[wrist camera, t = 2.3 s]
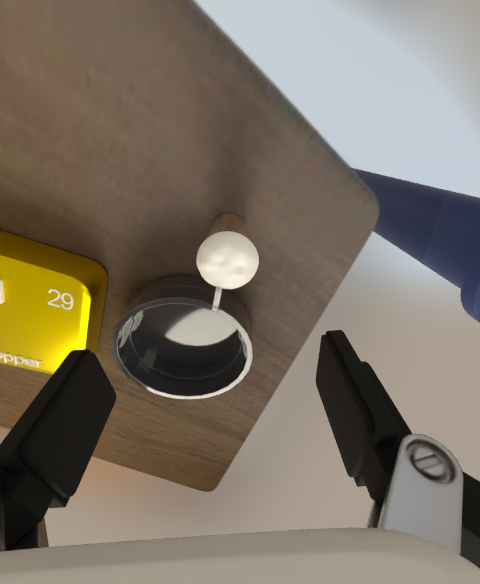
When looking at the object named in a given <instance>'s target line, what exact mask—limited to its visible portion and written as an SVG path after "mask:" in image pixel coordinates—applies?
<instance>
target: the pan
mask: <svg viewBox="0 0 480 584" xmlns="http://www.w3.org/2000/svg"><path fill="white" fill-rule="evenodd" d="M215 291H216V286H213V285H211V284H209V283H208V282H207V281H205V280H204V278H200V277H193V276H172V277H166V278H163V279H160V280H157V281H154V282H151V283H150V284H148V285H147V286H145V287H144V288H142V289H141V290H140V291H138V293H137V294H136V295H135V297H134V298H133V299H132V300H131V302H130V303H129V305H128V306H127V308H126V310H125V311H124V313H123V314H122V316H121V317H120V319H119V320H118V322H117V324H116V325H115V327H114V331H113V334H112V337H111V348H112V355H113V357H114V359H115V361H116V363H117V365H118V367H119V368H120V369H121V370H122V372H123V373H124V374H125V375H126V376H127V377H128V378H129V379H130V380H132V381H133V382H134V383H136V384H137V385H139V386H140V387H142V388H144V389H146V390H148V391H151V392H153V393H155V394H158V395H162V396H166V397H170V398H177V399H202V398H207V397H211V396H216V395H219V394H221V393H223V392H225V391H228V390H230V389H231V388H233V387H234V386H235V385H236V384H238V383H239V382H240V381H241V380H242V379H243V378H244V377H245V375H246V374H247V372H248V371H249V369H250V366H251V363H252V360H253V346H252V335H251V324H250V318H249V315H248V313H247V311H246V308H245V306H244V305H243V304H242V303H241V301H240V300H239V299H238V298H237V296H236V295H234V294H233V293H232V292H230V291H229V290H228V289H223V288H222V292H221V298H220V303H219V308H218V310H213V309H212V306H213V301H214V296H215Z"/></svg>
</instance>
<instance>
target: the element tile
mask: <svg viewBox="0 0 480 584" xmlns="http://www.w3.org/2000/svg"><path fill="white" fill-rule="evenodd" d="M107 282H108V279H107V275H106V272H105V270H104V269H103V267H102V266H101V265H99V264H98V263H96V262H95V261H93V260H91V259H88V258H85V257H82V256H79V255H76V254H73V253H70V252H67V251H63V250H60V249H57V248H54V247H51V246H48V245H45V244H42V243H39V242H36V241H32V240H29V239H26V238H23V237H20V236H17V235H14V234H11V233H8V232H5V231H1V230H0V363H2V364H7V365H11V366H16V367H20V368H25V369H29V370H34V371H38V372H43V373H47V374H52V375H53V374H54V373H55V371H56V370H57V369H58V367H59V366H60V365H61V363H62V362H63V361H64V359H65V358H66V357H67V355H68V354H69V353H70V352H71V351H73V350H82V349H89V350H90V351H91V352H93V353H95V352H96V350H97V348H98V342H99V335H100V328H101V322H102V315H103V308H104V302H105V295H106V288H107Z"/></svg>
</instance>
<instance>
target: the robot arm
mask: <svg viewBox="0 0 480 584" xmlns="http://www.w3.org/2000/svg"><path fill="white" fill-rule="evenodd" d="M316 385H317V388H318V391H319V394H320V397H321V400H322V403H323V406H324V408H325V411H326V414H327V417H328V419H329V423H330V425H331V428H332V431H333V434H334V437H335V440H336V443H337V446H338V448H339V451H340V454H341V457H342V459H343V463H344V465H345V468H346V471H347V473H348V475H349V476H350V477H354V479H355V482H356V485H357V486H358V487H360V486H367V489H368V492H369V494H370V497H371V498H372V499H373V500H374V501H373V505H372V508H371V512H370V516H369V519H368V523H367V527H366V528H332V529H307V530H289V531H274V532H257V533H242V534H226V535H212V536H196V537H181V538H167V539H153V540H138V541H124V542H110V543H97V544H83V545H70V546H57V547H49V545H48V538H47V532H46V526H45V519H44V516H45V513H46V512H47V510H48V508H59V507H66V505H67V503H68V500H69V498H70V497H71V496H73V495H74V493H75V492H76V490H77V488H78V486H79V483H80V481H81V479H82V476H83V474H84V472H85V470H86V467H87V465H88V463H89V461H90V458H91V456H92V454H93V451H94V449H95V447H96V445H97V442H98V440H99V438H100V435H101V433H102V431H103V429H104V426H105V424H106V422H107V419H108V417H109V415H110V413H111V410H112V408H113V406H114V403H115V401H116V393H115V391H114V389H113V387H112V385H111V383H110V382H109V380H108V378H107V376H106V374H105V372H104V370H103V368H102V366H101V365H100V363H99V361H98V359H97V357H96V355H95V354H94V353H93V352H91V351H90V350H89V349H82V350H73V351H71V352H70V353H69V354H68V355H67V357H66V358H65V359H64V361H63V362H62V363H61V365H60V366H59V367H58V369H57V370H56V371H55V373H54V374H53V375H52V376H51V378H50V379H49V380H48V382H47V383H46V384H45V386H44V387H43V388H42V390H41V391H40V392H39V394H38V395H37V396H36V398H35V399H34V400H33V402H32V403H31V404H30V406H29V407H28V408H27V410H26V411H25V412H24V414H23V415H22V416H21V418H20V419H19V420H18V422H17V423H16V424H15V426H14V427H13V428H12V430H11V431H10V432H9V434H8V435H7V436H6V438H5V439H4V440H3V442H2V443H1V444H0V584H480V482H479V481H478V480H476V479H474V478H473V477H471V476H469V475H468V474H466V473H464V472H463V471H462V468H461V466H460V464H459V462H458V460H457V459H456V458H455V456H454V455H453V454H452V453H451V452H450V450H448V449H447V448H446V447H445V446H444V445H443V444H441V443H440V442H438V441H437V440H435V439H433V438H431V437H428V436H426V435H422V434H412V432H411V431H410V429H409V428H408V426H407V424H406V423H405V421H404V420H403V418H402V416H401V415H400V413H399V411H398V410H397V408H396V406H395V405H394V403H393V401H392V400H391V398H390V397H389V395H388V393H387V392H386V390H385V389H384V387H383V385H382V384H381V382H380V380H379V379H378V378H377V376H376V374H375V372H374V371H373V369H372V368H371V366H370V365H369V364H368V363H367V362H361V361H360V359H359V358H358V356H357V354H356V352H355V351H354V349H353V347H352V346H351V344H350V342H349V341H348V339H347V337H346V336H345V334H344V332H343V331H342V330H335V331H327V332H326V335H322V338H321V345H320V352H319V359H318V366H317V374H316Z"/></svg>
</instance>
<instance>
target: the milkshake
mask: <svg viewBox="0 0 480 584" xmlns="http://www.w3.org/2000/svg"><path fill="white" fill-rule="evenodd" d="M196 263H197V267H198V269H199V272H200V274H201V276H202V277H203V278H204V280H205V281H207V282H208V283H209V284H211V285H213V286H216V291H215V296H214V301H213V306H212V309H213V310H218V308H219V303H220V298H221V292H222V288H223V289H235V288H238V287H241V286H243V285H244V284H246V283H248V282H249V281H250V280H251V279H252V278H253V276H254V275H255V273H256V271H257V268H258V264H259V256H258V252H257V250H256V248H255V246H254V244H253V242H252V240H251V238H250V236H249V234H248V231H247V229H246V226H245V224H244V221H243V219H242V218H240V217H239V216H237V215H236V214H235V213H224V214H222V215H221V216H220V217H218V218H217V219H216V220H215V222H214V224H213V226H212V227H211V229H210V231H209V233H208V235H207V237H206V238H205V240H204V241H203V243H202V244H201V246H200V248H199V250H198V254H197V259H196Z"/></svg>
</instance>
